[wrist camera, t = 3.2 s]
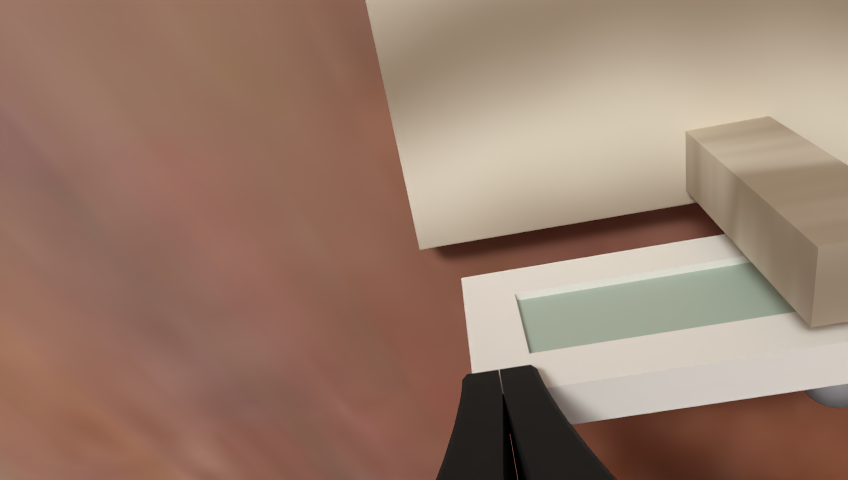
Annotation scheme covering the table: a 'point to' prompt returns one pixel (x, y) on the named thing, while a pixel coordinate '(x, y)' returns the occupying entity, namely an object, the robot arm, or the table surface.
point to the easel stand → (629, 122)
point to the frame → (652, 331)
